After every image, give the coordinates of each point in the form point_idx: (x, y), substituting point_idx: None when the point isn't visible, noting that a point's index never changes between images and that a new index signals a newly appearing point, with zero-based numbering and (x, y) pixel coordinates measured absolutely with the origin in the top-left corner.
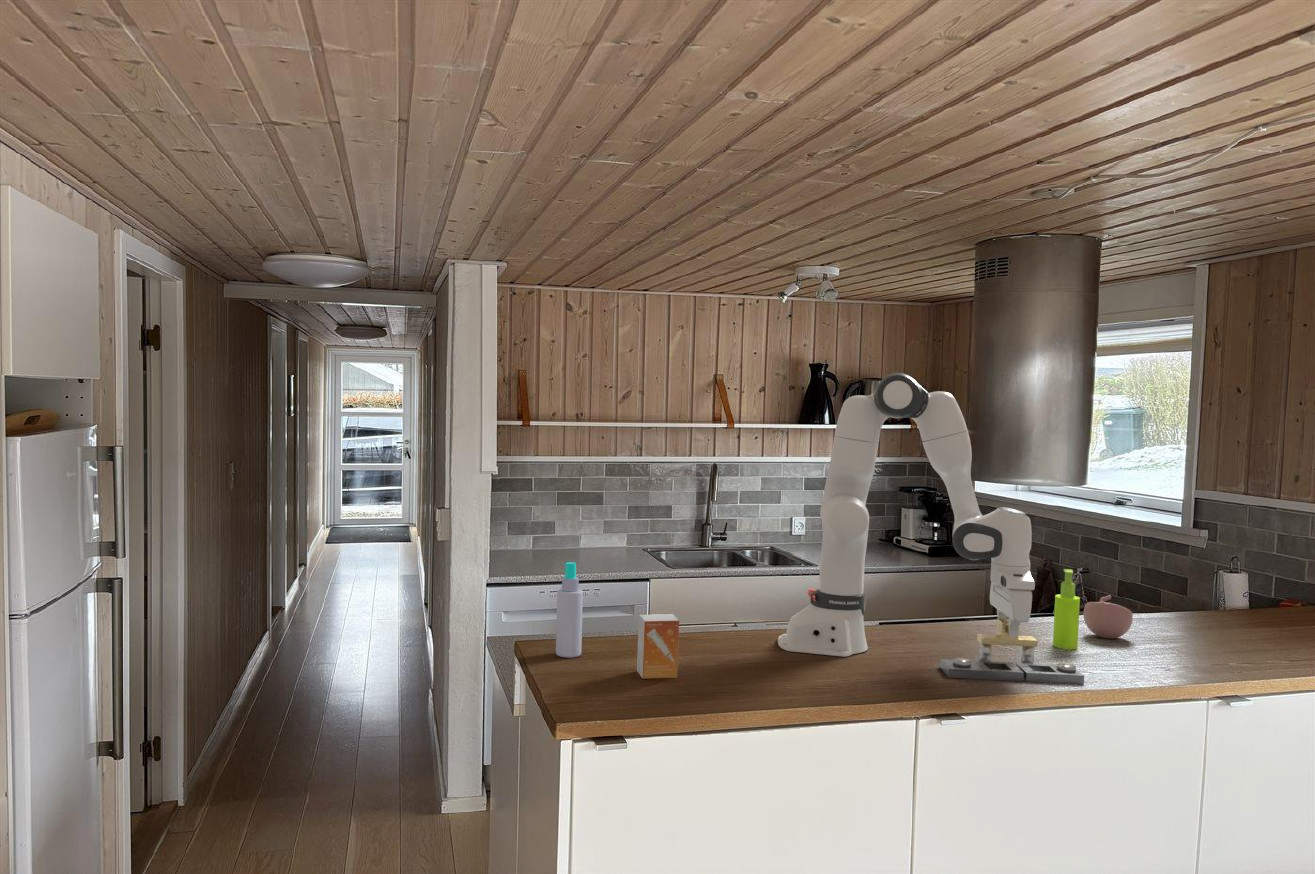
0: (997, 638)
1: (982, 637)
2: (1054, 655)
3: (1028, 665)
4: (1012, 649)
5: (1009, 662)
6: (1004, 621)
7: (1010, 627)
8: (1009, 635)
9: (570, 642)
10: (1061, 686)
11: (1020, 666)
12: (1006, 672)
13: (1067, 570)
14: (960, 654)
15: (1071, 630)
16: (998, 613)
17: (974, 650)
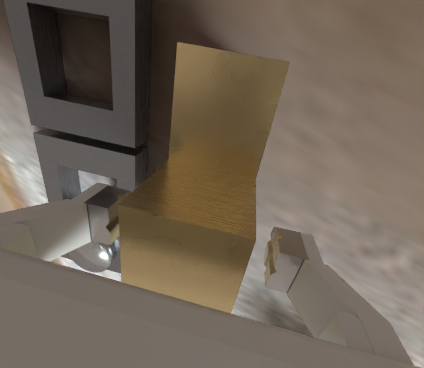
0: (174, 142)
1: (189, 51)
2: (288, 313)
3: (117, 181)
4: (371, 261)
5: (134, 136)
6: (151, 236)
7: (45, 203)
8: (100, 183)
9: None
10: (45, 192)
11: (95, 149)
12: (20, 64)
13: None
14: (372, 29)
15: None
16: (338, 309)
17: (409, 131)
